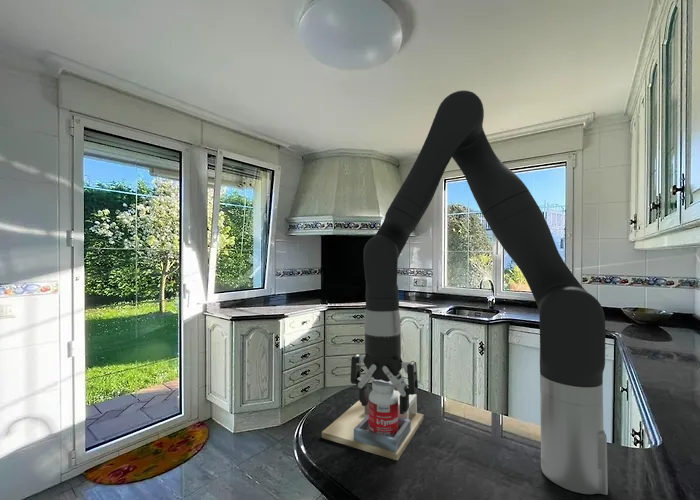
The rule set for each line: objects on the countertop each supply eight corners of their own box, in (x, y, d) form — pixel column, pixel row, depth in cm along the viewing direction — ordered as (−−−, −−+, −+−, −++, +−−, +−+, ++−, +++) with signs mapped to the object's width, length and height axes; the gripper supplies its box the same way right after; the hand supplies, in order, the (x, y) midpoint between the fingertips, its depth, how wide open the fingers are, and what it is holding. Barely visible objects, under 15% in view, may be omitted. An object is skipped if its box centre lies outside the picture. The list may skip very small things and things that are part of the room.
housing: (416, 413, 79) (416, 394, 79) (407, 427, 73) (407, 406, 73) (389, 407, 82) (389, 389, 82) (378, 419, 76) (378, 399, 76)
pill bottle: (374, 445, 66) (374, 389, 66) (364, 430, 71) (364, 378, 72) (403, 440, 67) (403, 385, 68) (390, 426, 73) (390, 375, 73)
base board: (423, 419, 79) (423, 403, 79) (397, 460, 63) (397, 440, 63) (359, 404, 87) (359, 390, 87) (321, 437, 71) (321, 420, 71)
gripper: (420, 330, 70) (422, 408, 69) (360, 324, 76) (360, 395, 76) (409, 338, 63) (411, 424, 63) (344, 331, 70) (345, 409, 69)
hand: (383, 408), depth 69 cm, fingers open, 8 cm apart
